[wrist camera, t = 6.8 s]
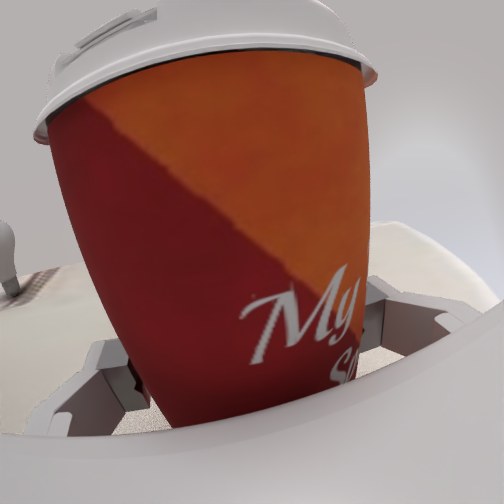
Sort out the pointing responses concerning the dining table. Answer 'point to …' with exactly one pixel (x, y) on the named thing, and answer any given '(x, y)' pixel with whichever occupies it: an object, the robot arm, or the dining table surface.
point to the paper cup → (220, 196)
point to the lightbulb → (7, 260)
